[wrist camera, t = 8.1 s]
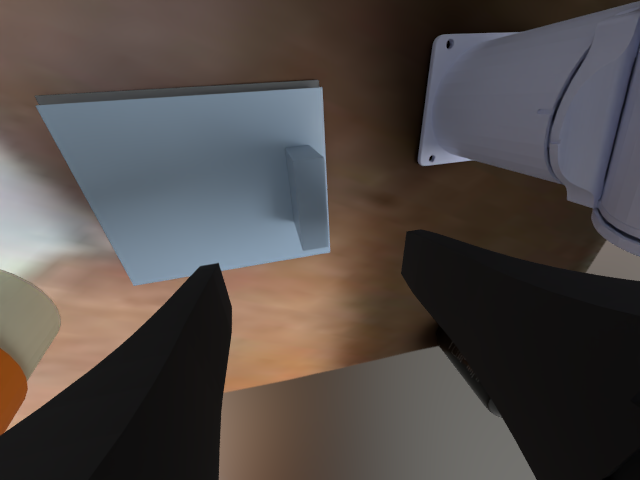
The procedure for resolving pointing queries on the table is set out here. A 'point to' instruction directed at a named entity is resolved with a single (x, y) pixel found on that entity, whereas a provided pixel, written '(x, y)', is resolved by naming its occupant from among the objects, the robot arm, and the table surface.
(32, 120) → the table surface
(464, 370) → the supplement bottle
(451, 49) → the robot arm
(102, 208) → the lid
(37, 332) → the reusable coffee cup
